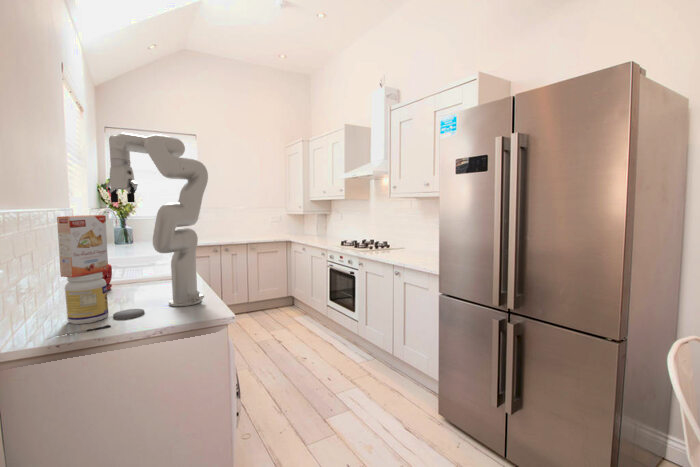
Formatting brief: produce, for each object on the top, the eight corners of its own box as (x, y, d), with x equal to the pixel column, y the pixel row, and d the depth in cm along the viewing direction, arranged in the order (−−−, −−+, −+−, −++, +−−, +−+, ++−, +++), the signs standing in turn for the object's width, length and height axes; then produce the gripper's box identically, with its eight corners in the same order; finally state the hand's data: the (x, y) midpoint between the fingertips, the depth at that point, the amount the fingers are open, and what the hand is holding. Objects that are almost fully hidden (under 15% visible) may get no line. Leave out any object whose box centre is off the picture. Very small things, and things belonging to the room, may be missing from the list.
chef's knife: (38, 340, 114) (37, 342, 112) (37, 336, 114) (37, 338, 112) (110, 326, 126) (111, 327, 124) (110, 322, 126) (111, 324, 124)
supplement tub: (113, 318, 132) (110, 273, 131) (71, 327, 123) (68, 278, 122) (103, 312, 141) (100, 269, 139) (64, 319, 132) (60, 274, 130)
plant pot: (112, 286, 184) (111, 262, 183) (113, 291, 173) (111, 266, 172) (80, 289, 177) (79, 265, 176) (79, 295, 166) (77, 269, 165)
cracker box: (74, 278, 123) (69, 216, 121) (59, 277, 124) (55, 216, 123) (109, 270, 137) (106, 214, 135) (96, 269, 138) (93, 214, 136)
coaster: (150, 312, 140) (150, 309, 140) (127, 320, 130) (127, 317, 130) (130, 310, 143) (130, 307, 143) (106, 318, 133) (106, 315, 133)
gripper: (142, 164, 163) (144, 202, 165) (113, 165, 169) (116, 202, 170) (127, 162, 156) (130, 202, 158) (98, 163, 162) (100, 202, 163)
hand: (122, 202), depth 164 cm, fingers open, 9 cm apart
